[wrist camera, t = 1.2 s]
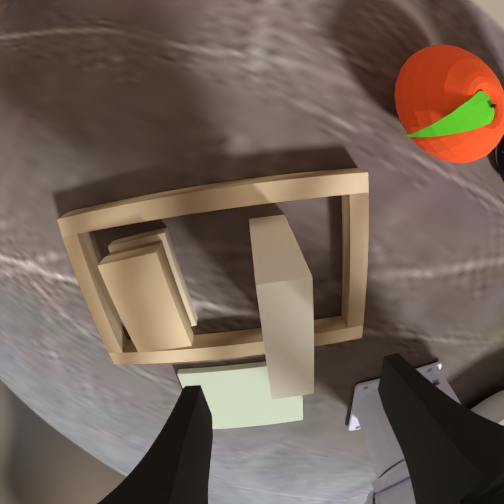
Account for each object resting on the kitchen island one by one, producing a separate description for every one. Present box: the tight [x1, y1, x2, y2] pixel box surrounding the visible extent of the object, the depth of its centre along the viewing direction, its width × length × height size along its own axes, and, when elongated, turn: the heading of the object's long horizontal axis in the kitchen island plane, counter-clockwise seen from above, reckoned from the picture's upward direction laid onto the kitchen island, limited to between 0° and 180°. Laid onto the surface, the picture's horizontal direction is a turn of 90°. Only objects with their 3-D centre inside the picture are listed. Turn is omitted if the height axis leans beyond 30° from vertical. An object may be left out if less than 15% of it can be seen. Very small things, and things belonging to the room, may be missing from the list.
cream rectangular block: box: [249, 214, 314, 399], centre depth 17 cm, size 2×7×8 cm, turn 7°
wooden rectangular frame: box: [57, 168, 369, 364], centre depth 20 cm, size 19×12×2 cm, turn 97°
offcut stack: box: [98, 227, 198, 353], centre depth 19 cm, size 4×7×4 cm, turn 11°
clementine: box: [394, 45, 504, 163], centre depth 13 cm, size 8×7×7 cm
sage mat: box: [177, 361, 303, 429], centre depth 26 cm, size 10×8×1 cm
